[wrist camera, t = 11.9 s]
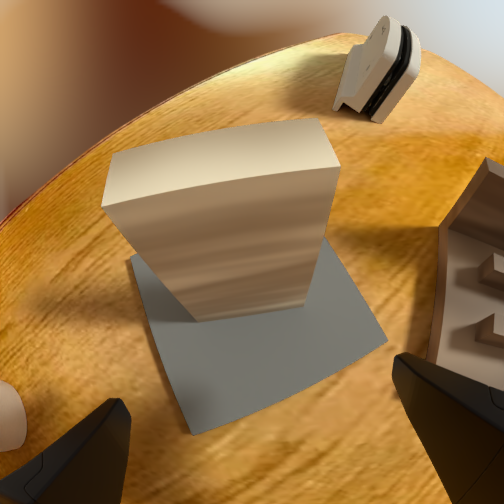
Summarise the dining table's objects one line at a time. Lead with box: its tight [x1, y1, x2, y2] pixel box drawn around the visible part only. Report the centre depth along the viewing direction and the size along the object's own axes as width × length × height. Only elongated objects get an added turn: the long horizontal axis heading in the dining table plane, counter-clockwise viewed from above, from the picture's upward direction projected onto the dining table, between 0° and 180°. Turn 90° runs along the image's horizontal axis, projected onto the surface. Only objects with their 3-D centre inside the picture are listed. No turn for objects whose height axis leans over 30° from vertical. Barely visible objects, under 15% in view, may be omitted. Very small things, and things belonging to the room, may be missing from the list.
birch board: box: [101, 118, 341, 323], centre depth 12 cm, size 2×6×11 cm, turn 98°
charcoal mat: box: [130, 237, 388, 436], centre depth 17 cm, size 12×12×1 cm
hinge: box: [332, 16, 421, 124], centre depth 25 cm, size 17×5×10 cm, turn 160°
